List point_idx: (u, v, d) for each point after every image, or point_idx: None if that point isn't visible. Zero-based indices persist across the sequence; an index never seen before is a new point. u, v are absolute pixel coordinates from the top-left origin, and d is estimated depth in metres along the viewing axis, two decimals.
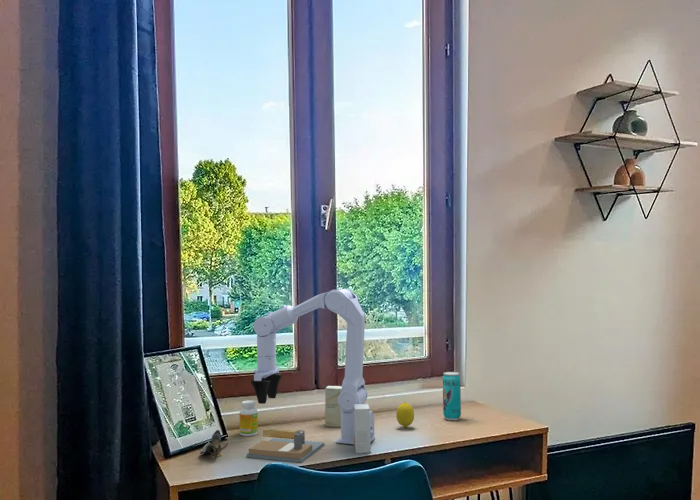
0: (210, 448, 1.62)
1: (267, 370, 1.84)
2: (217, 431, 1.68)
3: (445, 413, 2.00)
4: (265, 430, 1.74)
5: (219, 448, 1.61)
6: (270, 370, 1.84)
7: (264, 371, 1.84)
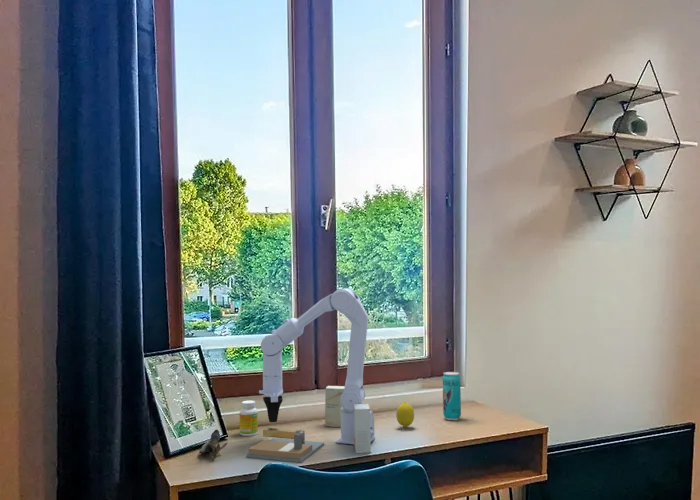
0: (209, 447, 1.63)
1: (277, 390, 1.79)
2: (216, 430, 1.68)
3: (445, 413, 2.00)
4: (265, 430, 1.74)
5: (218, 447, 1.62)
6: (280, 390, 1.80)
7: (275, 391, 1.79)
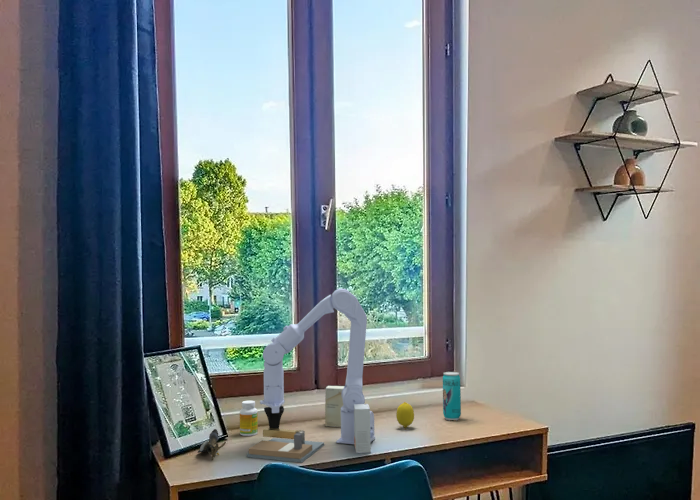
0: (208, 447, 1.63)
1: (279, 400, 1.75)
2: (214, 430, 1.69)
3: (445, 413, 2.00)
4: (265, 430, 1.74)
5: (216, 447, 1.62)
6: (281, 400, 1.75)
7: (276, 402, 1.74)
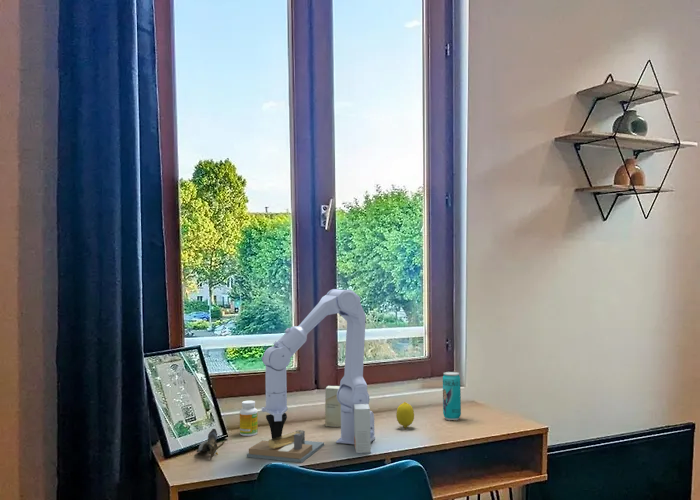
0: (206, 446, 1.64)
1: (281, 408, 1.65)
2: (213, 430, 1.69)
3: (445, 413, 2.00)
4: (275, 441, 1.63)
5: (215, 446, 1.63)
6: (284, 407, 1.66)
7: (278, 409, 1.65)
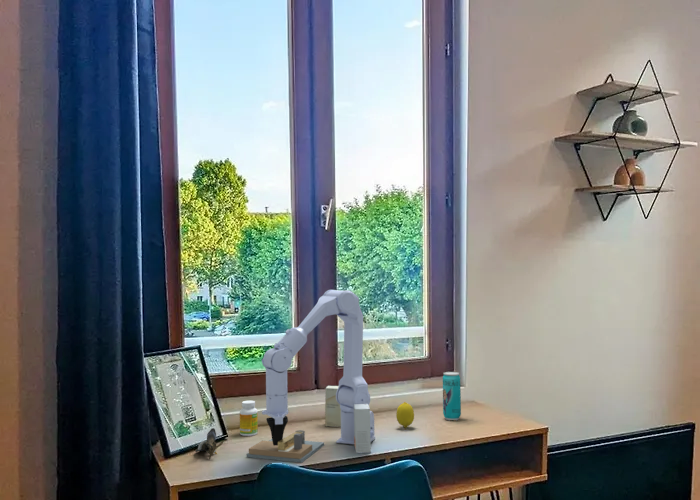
0: (205, 446, 1.64)
1: (282, 410, 1.62)
2: (212, 429, 1.69)
3: (445, 413, 2.00)
4: (285, 442, 1.62)
5: (214, 446, 1.63)
6: (285, 410, 1.63)
7: (279, 412, 1.62)
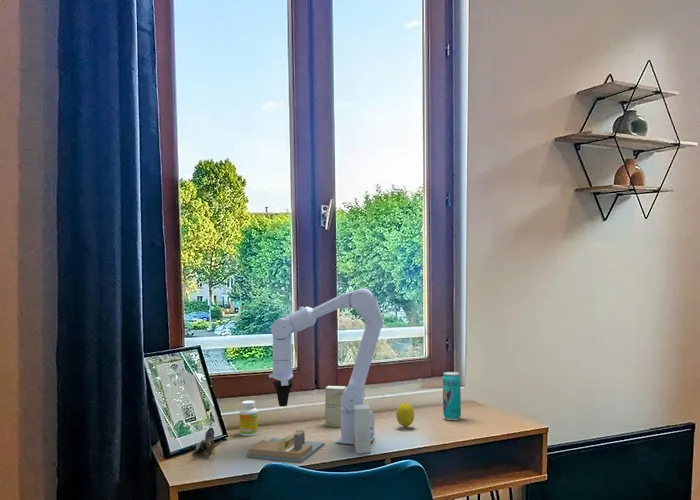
0: (204, 445, 1.65)
1: (287, 374, 1.78)
2: (211, 429, 1.70)
3: (445, 413, 2.00)
4: (285, 442, 1.62)
5: (212, 445, 1.64)
6: (290, 374, 1.79)
7: (285, 375, 1.77)
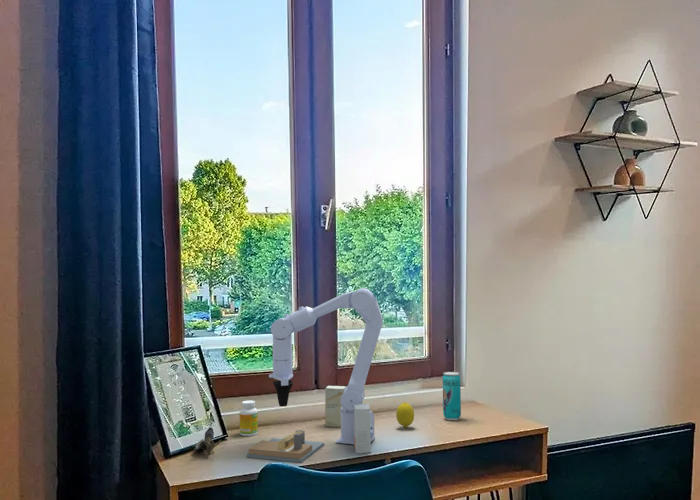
0: (203, 445, 1.65)
1: (287, 374, 1.78)
2: (210, 428, 1.71)
3: (445, 413, 2.00)
4: (285, 442, 1.62)
5: (212, 445, 1.64)
6: (290, 374, 1.79)
7: (285, 375, 1.77)
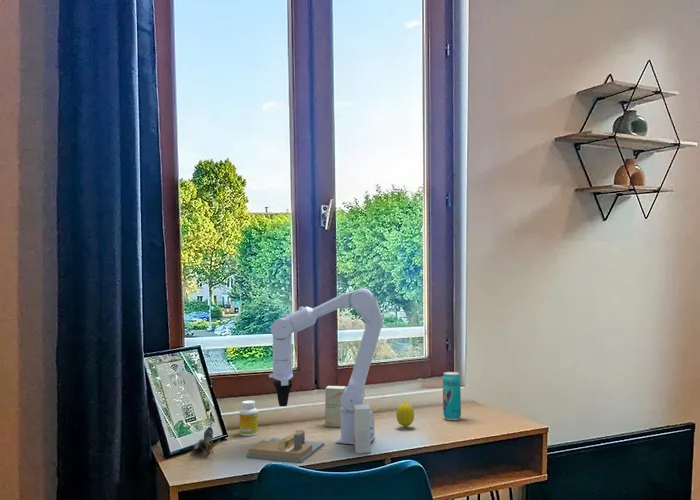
0: (202, 444, 1.65)
1: (287, 374, 1.78)
2: (209, 428, 1.71)
3: (445, 413, 2.00)
4: (285, 442, 1.62)
5: (211, 444, 1.64)
6: (290, 374, 1.79)
7: (285, 375, 1.77)
